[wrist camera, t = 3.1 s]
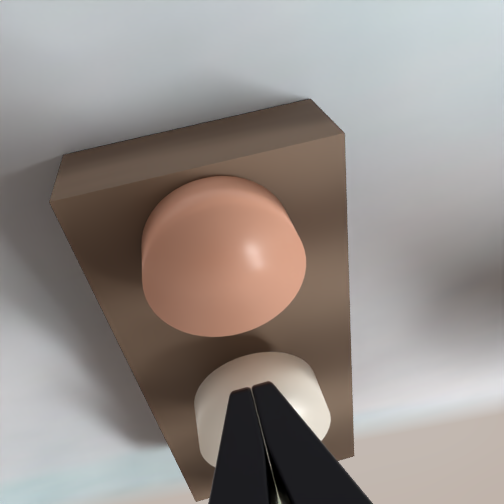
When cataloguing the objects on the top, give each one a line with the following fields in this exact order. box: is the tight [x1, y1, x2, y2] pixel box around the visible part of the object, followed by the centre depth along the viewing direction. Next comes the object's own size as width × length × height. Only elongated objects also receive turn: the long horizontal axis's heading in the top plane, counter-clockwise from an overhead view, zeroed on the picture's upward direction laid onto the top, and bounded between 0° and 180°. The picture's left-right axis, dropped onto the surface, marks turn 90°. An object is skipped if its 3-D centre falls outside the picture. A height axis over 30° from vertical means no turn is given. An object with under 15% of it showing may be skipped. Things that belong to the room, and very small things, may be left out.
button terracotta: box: [141, 176, 306, 337], centre depth 13 cm, size 4×4×2 cm
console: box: [49, 99, 354, 502], centre depth 18 cm, size 17×8×3 cm, turn 8°
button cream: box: [194, 352, 331, 467], centre depth 16 cm, size 4×4×2 cm
